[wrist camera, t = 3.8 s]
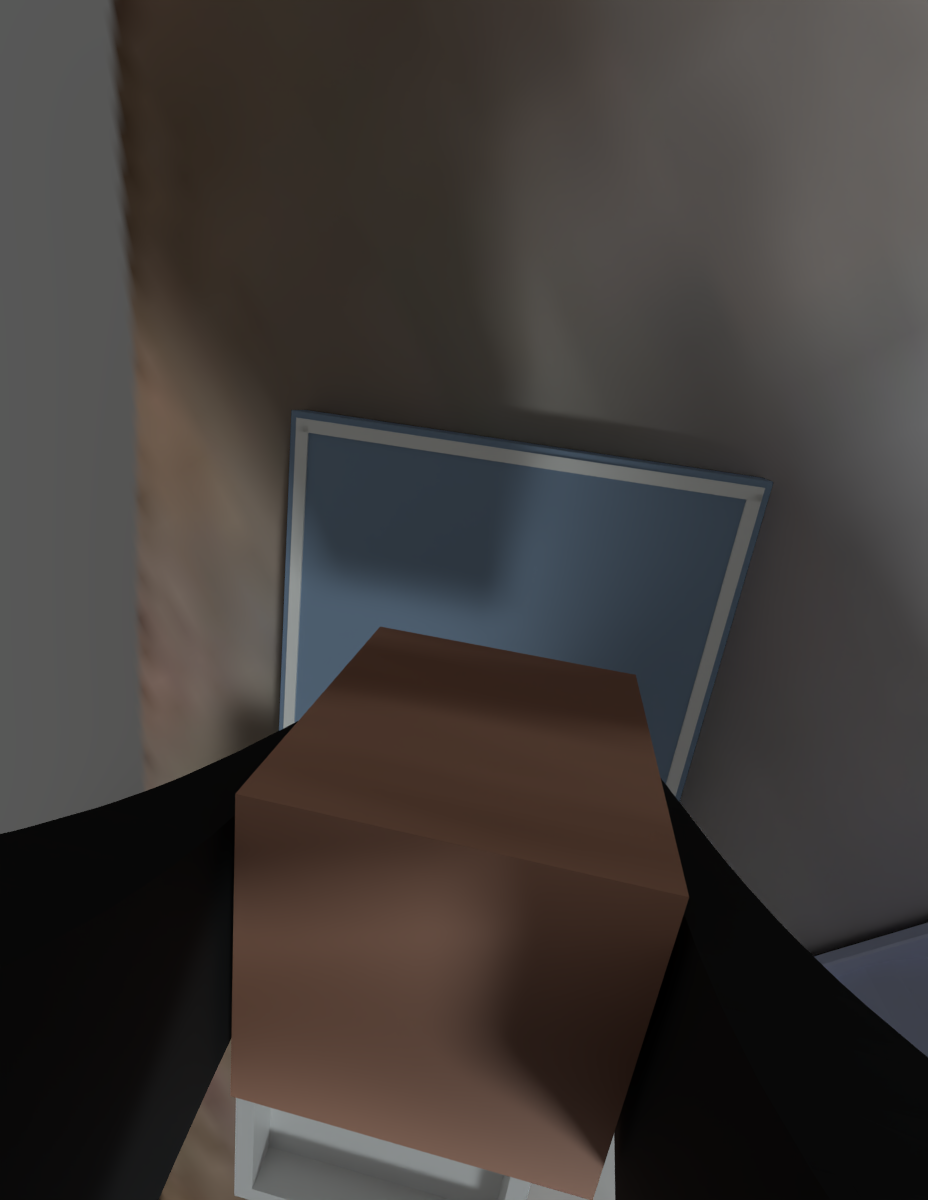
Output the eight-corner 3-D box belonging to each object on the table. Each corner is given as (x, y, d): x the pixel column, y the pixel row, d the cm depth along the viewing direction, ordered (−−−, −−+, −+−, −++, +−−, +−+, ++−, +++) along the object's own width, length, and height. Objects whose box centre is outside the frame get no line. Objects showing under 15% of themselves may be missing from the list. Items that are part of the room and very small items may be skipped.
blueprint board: (305, 409, 15) (290, 410, 14) (762, 477, 14) (774, 482, 13) (276, 1036, 22) (265, 1060, 22) (578, 1118, 21) (578, 1146, 20)
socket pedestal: (313, 858, 19) (237, 994, 14) (561, 917, 18) (558, 1079, 13) (302, 1035, 21) (234, 1195, 17) (519, 1093, 20) (505, 1277, 16)
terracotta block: (380, 626, 11) (235, 793, 6) (635, 675, 10) (689, 896, 6) (360, 833, 12) (230, 1096, 8) (583, 884, 12) (592, 1200, 7)
